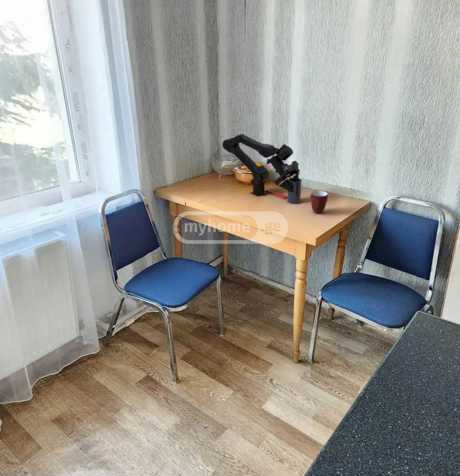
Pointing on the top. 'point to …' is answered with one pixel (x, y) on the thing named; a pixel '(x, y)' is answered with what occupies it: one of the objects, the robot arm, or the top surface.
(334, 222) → the top surface
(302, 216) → the top surface
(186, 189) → the top surface
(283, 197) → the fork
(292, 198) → the grey cylindrical cup
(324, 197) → the mug
